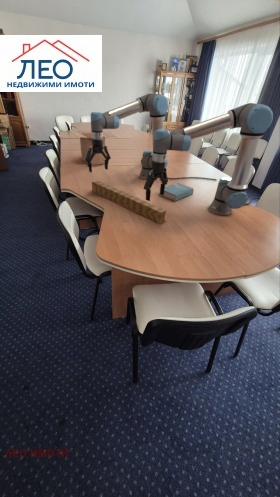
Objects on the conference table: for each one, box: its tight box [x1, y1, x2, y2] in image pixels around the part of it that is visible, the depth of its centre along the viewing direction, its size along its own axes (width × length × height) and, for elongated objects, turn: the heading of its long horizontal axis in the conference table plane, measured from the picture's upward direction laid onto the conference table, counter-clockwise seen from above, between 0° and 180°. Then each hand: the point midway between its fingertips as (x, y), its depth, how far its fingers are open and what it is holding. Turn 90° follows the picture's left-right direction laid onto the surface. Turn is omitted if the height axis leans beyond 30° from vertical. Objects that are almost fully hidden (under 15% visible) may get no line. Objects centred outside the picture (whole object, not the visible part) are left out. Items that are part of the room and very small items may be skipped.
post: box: [91, 180, 167, 224], centre depth 154 cm, size 67×5×8 cm, turn 48°
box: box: [70, 130, 114, 166], centre depth 229 cm, size 44×36×27 cm
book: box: [158, 182, 194, 202], centre depth 175 cm, size 23×16×5 cm
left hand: (98, 170), depth 162 cm, fingers open, 13 cm apart
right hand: (154, 197), depth 135 cm, fingers open, 13 cm apart
